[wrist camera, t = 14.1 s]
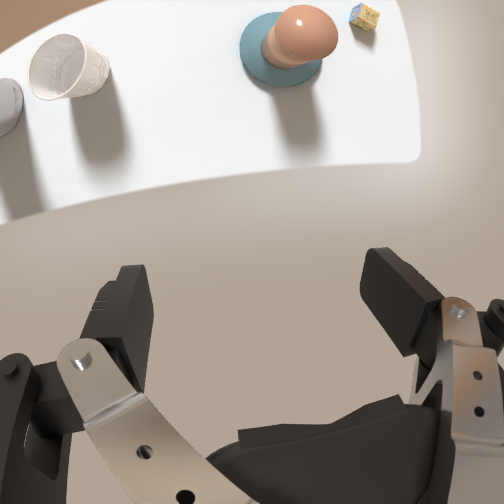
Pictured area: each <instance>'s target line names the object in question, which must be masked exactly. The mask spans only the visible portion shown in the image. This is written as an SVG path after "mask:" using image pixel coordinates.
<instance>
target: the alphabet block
mask: <svg viewBox="0 0 504 504" xmlns="http://www.w3.org/2000/svg"><path fill="white" fill-rule="evenodd" d="M379 14H380V13H379V12H377V11H375V10H374V9H372V8H370V7H368V6H366V5H365V4H363V3H361V4H359V5H357V6H355V7H353V9H352V12H351V16H350V19H349V22H350V23H352V24H354V25H356V26H358V27H360V28H362V29H363V30H365V31H368V30H370V29H373V28H376V26H377V22H378V18H379Z"/></svg>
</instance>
